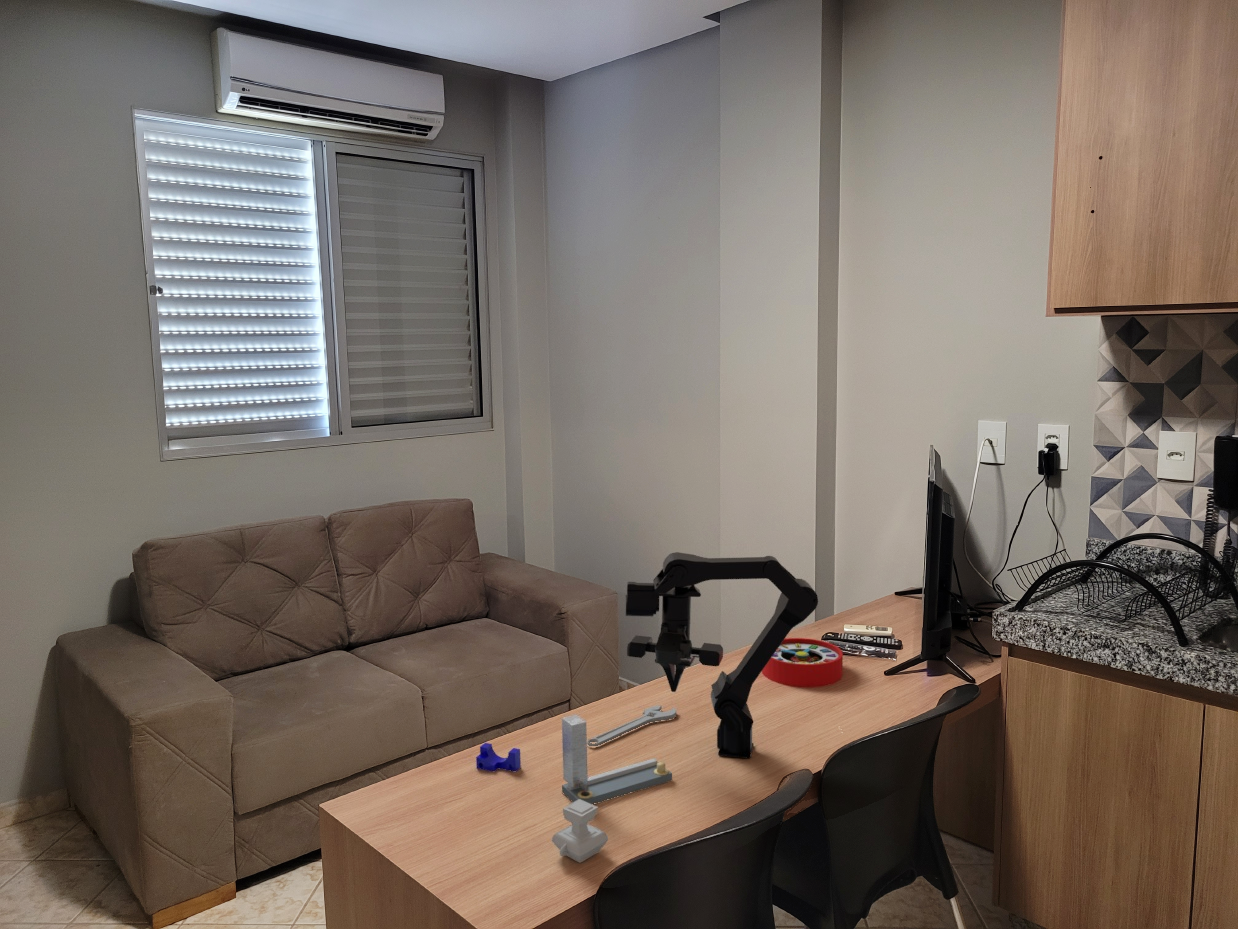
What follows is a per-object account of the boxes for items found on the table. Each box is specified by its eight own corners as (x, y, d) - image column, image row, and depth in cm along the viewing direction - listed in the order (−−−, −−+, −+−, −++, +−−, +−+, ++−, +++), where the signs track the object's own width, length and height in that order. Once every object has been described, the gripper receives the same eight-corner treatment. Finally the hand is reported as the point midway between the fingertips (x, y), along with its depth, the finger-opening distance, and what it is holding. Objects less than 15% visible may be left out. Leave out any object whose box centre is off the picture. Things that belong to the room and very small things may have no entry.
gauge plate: (652, 766, 177) (652, 751, 177) (672, 780, 171) (672, 765, 171) (562, 792, 167) (561, 777, 167) (579, 809, 161) (579, 792, 161)
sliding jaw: (577, 778, 169) (576, 714, 167) (593, 792, 163) (592, 726, 161) (563, 782, 167) (561, 717, 165) (579, 796, 162) (577, 730, 160)
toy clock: (824, 670, 211) (747, 655, 223) (823, 694, 212) (747, 677, 223) (854, 646, 227) (782, 633, 239) (854, 669, 228) (782, 654, 240)
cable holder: (476, 769, 177) (475, 750, 177) (485, 761, 181) (485, 742, 180) (511, 776, 174) (511, 756, 174) (520, 768, 177) (520, 749, 177)
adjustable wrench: (593, 752, 185) (592, 744, 184) (574, 742, 190) (574, 734, 189) (680, 718, 200) (680, 710, 200) (661, 709, 205) (661, 701, 205)
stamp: (585, 835, 152) (584, 789, 151) (613, 850, 148) (613, 802, 147) (546, 858, 146) (545, 810, 145) (574, 874, 141) (573, 824, 140)
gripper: (620, 623, 174) (618, 700, 176) (715, 633, 169) (712, 712, 171) (634, 608, 184) (633, 680, 187) (724, 617, 180) (722, 691, 182)
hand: (673, 691), depth 181 cm, fingers closed
